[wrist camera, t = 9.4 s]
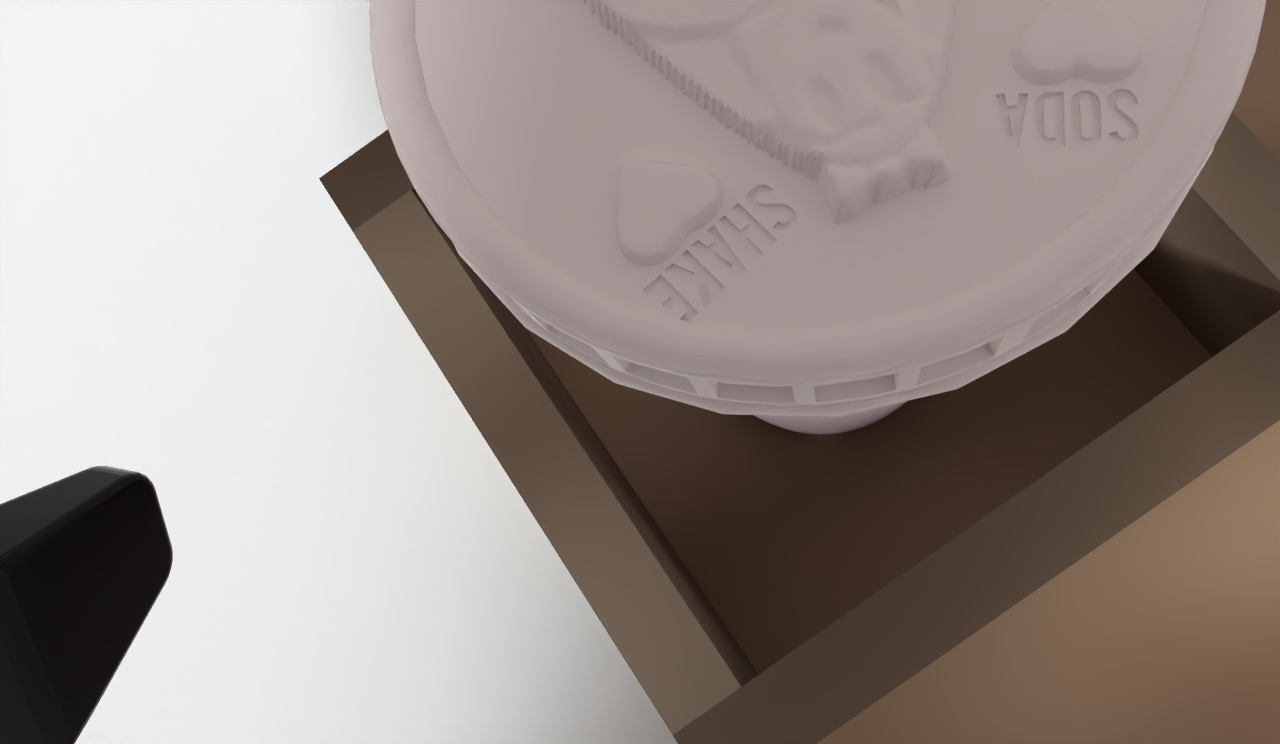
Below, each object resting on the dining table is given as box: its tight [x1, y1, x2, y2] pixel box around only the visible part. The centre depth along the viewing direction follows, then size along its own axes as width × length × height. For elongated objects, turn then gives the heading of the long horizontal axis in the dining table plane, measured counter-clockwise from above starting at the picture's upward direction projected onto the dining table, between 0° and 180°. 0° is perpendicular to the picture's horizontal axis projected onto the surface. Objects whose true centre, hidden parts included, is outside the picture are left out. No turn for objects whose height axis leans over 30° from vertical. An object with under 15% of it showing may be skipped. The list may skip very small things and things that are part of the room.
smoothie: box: [370, 0, 1266, 435], centre depth 10 cm, size 6×6×14 cm
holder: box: [319, 0, 1280, 744], centre depth 15 cm, size 17×14×4 cm
